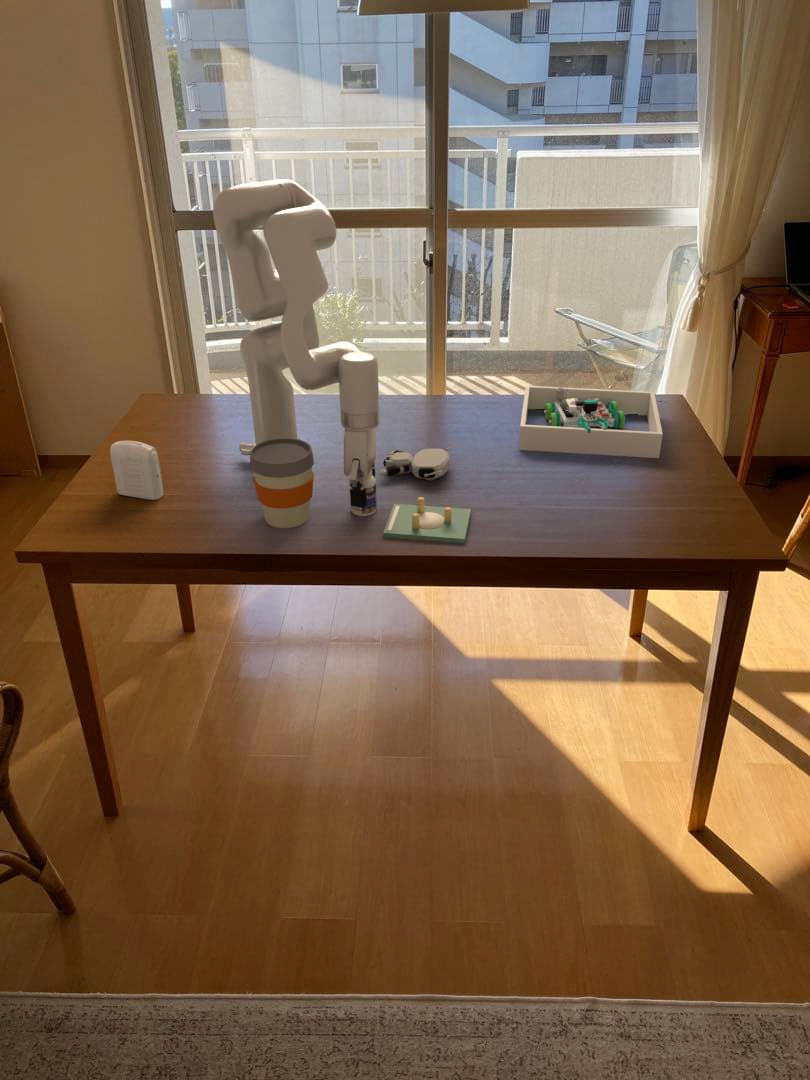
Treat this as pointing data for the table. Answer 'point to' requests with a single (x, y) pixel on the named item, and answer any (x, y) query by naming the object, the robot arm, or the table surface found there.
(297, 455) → the reusable coffee cup
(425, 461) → the robot toy
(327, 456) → the table surface
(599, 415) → the robot kit
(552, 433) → the storage frame
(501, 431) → the table surface
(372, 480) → the pill bottle
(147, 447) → the photo printer
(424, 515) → the board
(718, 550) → the table surface
